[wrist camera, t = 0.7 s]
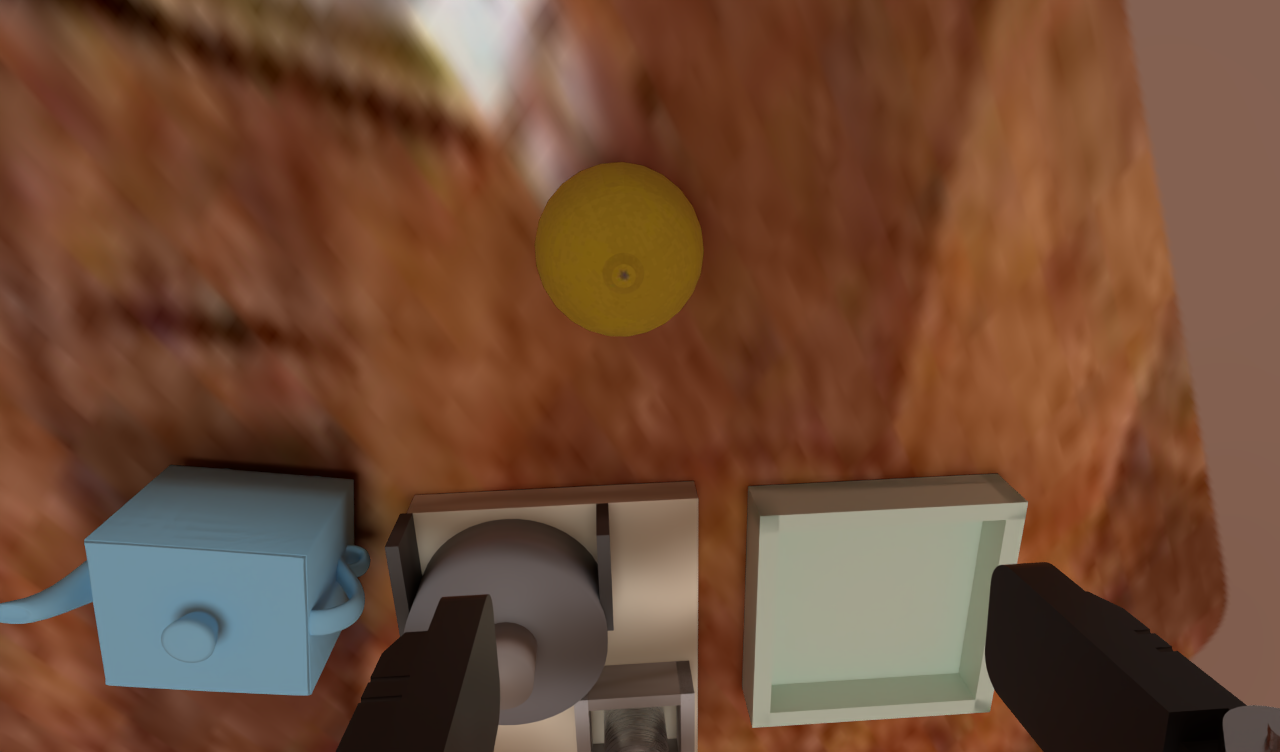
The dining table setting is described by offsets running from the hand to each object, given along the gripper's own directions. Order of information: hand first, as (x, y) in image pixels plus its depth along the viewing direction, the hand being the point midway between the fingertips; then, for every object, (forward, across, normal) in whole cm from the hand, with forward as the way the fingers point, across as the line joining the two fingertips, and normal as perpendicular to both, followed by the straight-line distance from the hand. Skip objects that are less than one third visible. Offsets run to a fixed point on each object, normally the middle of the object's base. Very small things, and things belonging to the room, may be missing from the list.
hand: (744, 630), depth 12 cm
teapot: (+20, +17, +6) cm, 27 cm away
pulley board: (+21, +4, +12) cm, 24 cm away
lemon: (+19, +1, -6) cm, 20 cm away
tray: (+20, -10, +11) cm, 25 cm away
